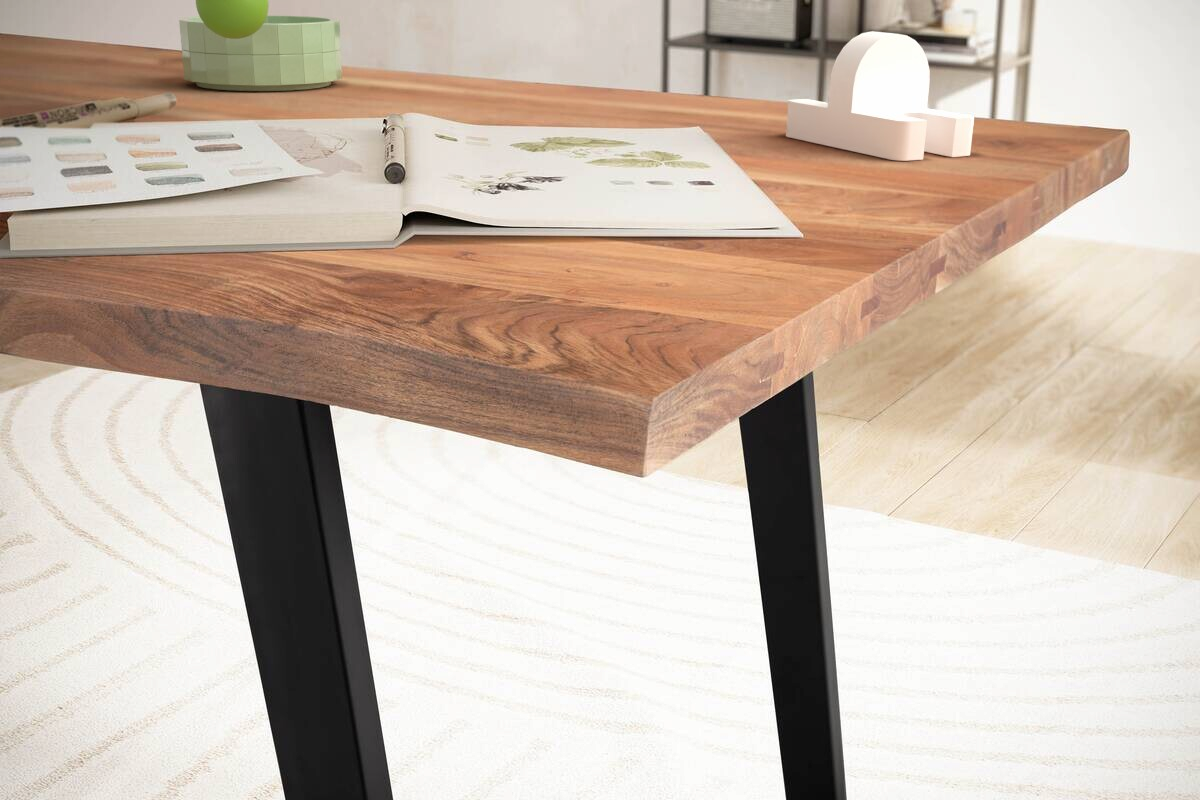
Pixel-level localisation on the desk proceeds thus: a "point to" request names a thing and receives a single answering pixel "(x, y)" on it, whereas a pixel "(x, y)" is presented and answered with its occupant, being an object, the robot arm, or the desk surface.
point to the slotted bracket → (881, 104)
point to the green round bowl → (264, 55)
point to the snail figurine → (233, 16)
